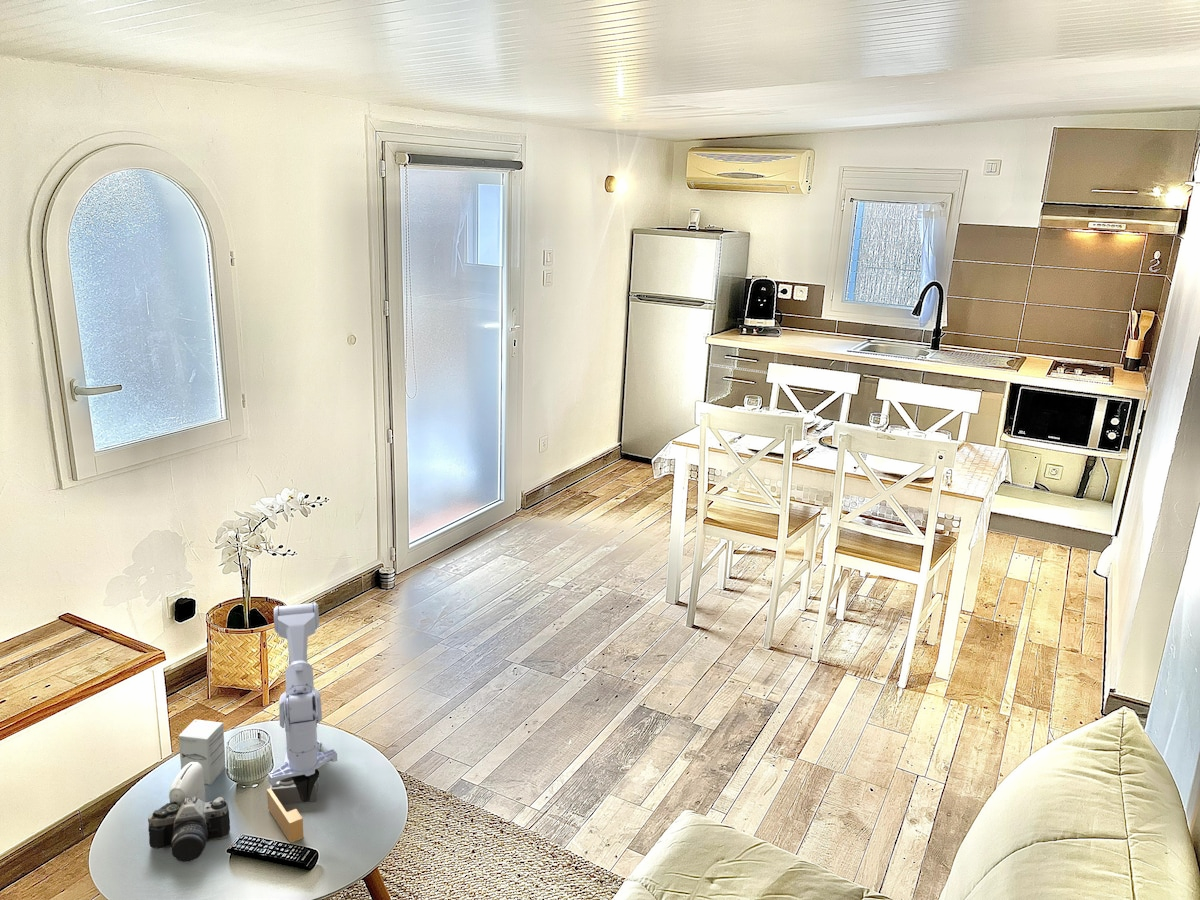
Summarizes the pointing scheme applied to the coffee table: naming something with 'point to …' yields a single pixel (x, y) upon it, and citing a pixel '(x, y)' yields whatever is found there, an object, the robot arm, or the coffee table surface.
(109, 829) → the coffee table surface
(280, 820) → the tan l-shaped bracket
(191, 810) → the camera
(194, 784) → the photo printer
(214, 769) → the supplement box
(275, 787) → the block
